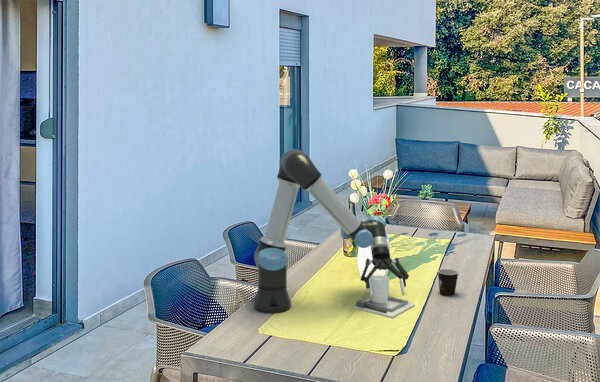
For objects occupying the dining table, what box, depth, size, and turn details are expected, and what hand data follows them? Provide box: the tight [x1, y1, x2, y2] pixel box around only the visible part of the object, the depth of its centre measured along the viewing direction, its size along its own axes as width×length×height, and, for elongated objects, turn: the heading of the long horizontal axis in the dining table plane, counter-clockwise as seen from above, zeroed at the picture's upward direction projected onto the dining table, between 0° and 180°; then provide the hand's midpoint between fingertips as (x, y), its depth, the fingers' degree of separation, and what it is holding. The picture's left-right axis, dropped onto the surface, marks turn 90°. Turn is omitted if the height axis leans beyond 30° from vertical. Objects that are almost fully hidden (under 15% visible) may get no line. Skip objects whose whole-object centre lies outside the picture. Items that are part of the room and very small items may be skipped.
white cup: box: [370, 274, 391, 303], centre depth 258 cm, size 8×8×10 cm
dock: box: [353, 295, 416, 319], centre depth 258 cm, size 18×18×3 cm
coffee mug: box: [437, 268, 459, 297], centre depth 276 cm, size 12×9×10 cm
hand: (387, 294), depth 256 cm, fingers open, 13 cm apart
